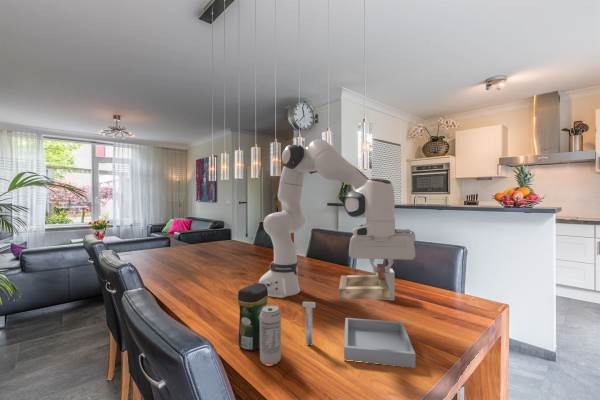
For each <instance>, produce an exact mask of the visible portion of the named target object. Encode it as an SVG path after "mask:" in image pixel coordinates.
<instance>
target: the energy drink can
mask: <svg viewBox="0 0 600 400" xmlns="http://www.w3.org/2000/svg"><path fill="white" fill-rule="evenodd" d="M281 359H282V312H281V311H280V308H279V306H278V305H275V304H269V305H268V304H267V306H264V307H263V308H262V311H261V313H260V348H259V361H260V362H261V364H262V363H264V364H275V363H277V362H280V361H281Z"/></svg>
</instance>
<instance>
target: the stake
mask: <svg viewBox="0 0 600 400" xmlns="http://www.w3.org/2000/svg"><path fill="white" fill-rule="evenodd" d="M316 306H317V304H316V301H302V308H305V345H306V344H308V345H311V344H312V345H313V309H314V308H315V309H316Z"/></svg>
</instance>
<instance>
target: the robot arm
mask: <svg viewBox="0 0 600 400" xmlns="http://www.w3.org/2000/svg"><path fill="white" fill-rule="evenodd" d="M281 162H282V165H283V167H282V170H281V173H280V174H281V175H280V178H279V185H278V191H277V199H278V201H279V202H280V205H281V211H277V212H272V213H270V214H268V215H266V216H265V217H264V219H263V224H262V225H263V229H264V231H265V233H267V235H269V237H270V239H271V242H272V246H273V260H272V261H271V262H270V264H269V270H268V271H267V272H265V273H264V274H263V275H262V276H261V277H260V278H259V281H258V283H262V284H265V285H266V287H267V291H268V297H272V298H279V299H283V298H286V297H291V296H295V295H298V294H299V293H301V289H300V285H299V280H298V279H299V278H298V271H299V266H298V260H297V258H298V257H297V254H298V253H297V252H298V251H297V246H296V244H295V243H294V242H293V239H292V237H291V235H292V234H293V233H294V234H295V233H297V232H299V231H300V230H302V229H303V228H304V226H305V225H306V218H305V216H304V215H303V213H302V207H301V198H302V190H303V183H304V177H305V175H306V174H307V173H309V174H310V175H312V174H315V173H318V174H319V175H320V176H321V177H323V179H326V180H330V181H335V182H340V183H345V184H347V185H349V186H351V187H353V188H354V190H350V191H348V192H347V194H346V195H345V197H344V201H343V206H344V209H345V212H346V214H347V215H348V216H349V217H351V218H357V219H358V218H359V219H360V218H366V219H365V220H366V221H365V223H363V224H360V225H357V226H355V227H352V236H351V237H350V239H349V240H350V241H349V248H348V256H349V257H350V259H359V260H360V259H362V260H363V259H364V260H365V259H366V260H367V259H369V264H370V266H371V267H372V272H373V273H375V274H377V273H378V266H377V265H375V260H387V262H388V264H387V265H386V266H385V273H390V268H391V267H392V266H393V264H394V260H409V261H410V260H414V259H415V258H416V249H415V242H416V234H415V232H414V231H412V230H411V229H401V228H396V217H395V215H394V210H395V207H396V205H395V204H396V202H395V201H396V200H395V189H394V185H393V183H392V182H391V181H390V180H388V179H384V178H368V177H367V175H365V174H364V173H363V172H362V171H361V170H359V168H357V167H356V166H354V165H353V164H352V163H351V162H349V161H348V160H347V159H346V158H344V157H343V156H342V154H340V153H339V152H338V151H337V150H336V148H334V146H333V145H331V144H330V143H329V142H328V141H326V140H325V139H322V138H318V139H314V140H312V141H310V143H309V144H308V146H304V145H302V144H301V145H300V144H289V145H286V146H285V147H284V148H283V150H282V153H281Z"/></svg>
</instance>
